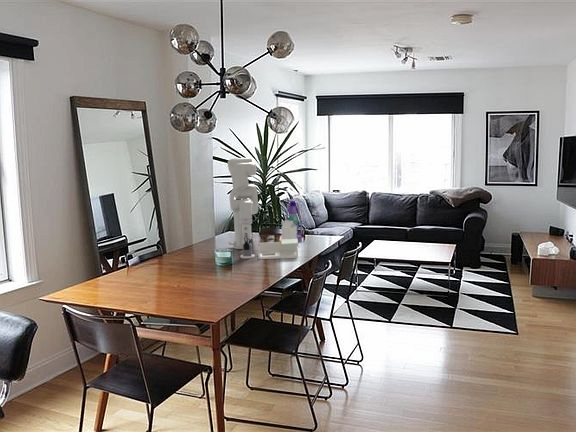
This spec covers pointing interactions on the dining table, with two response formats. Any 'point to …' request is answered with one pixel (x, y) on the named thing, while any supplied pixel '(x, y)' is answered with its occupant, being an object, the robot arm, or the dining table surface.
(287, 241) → the cover
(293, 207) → the lantern
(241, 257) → the white flat disc
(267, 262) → the dining table surface
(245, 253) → the block
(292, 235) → the milk carton
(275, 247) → the frame with rectangular opening
